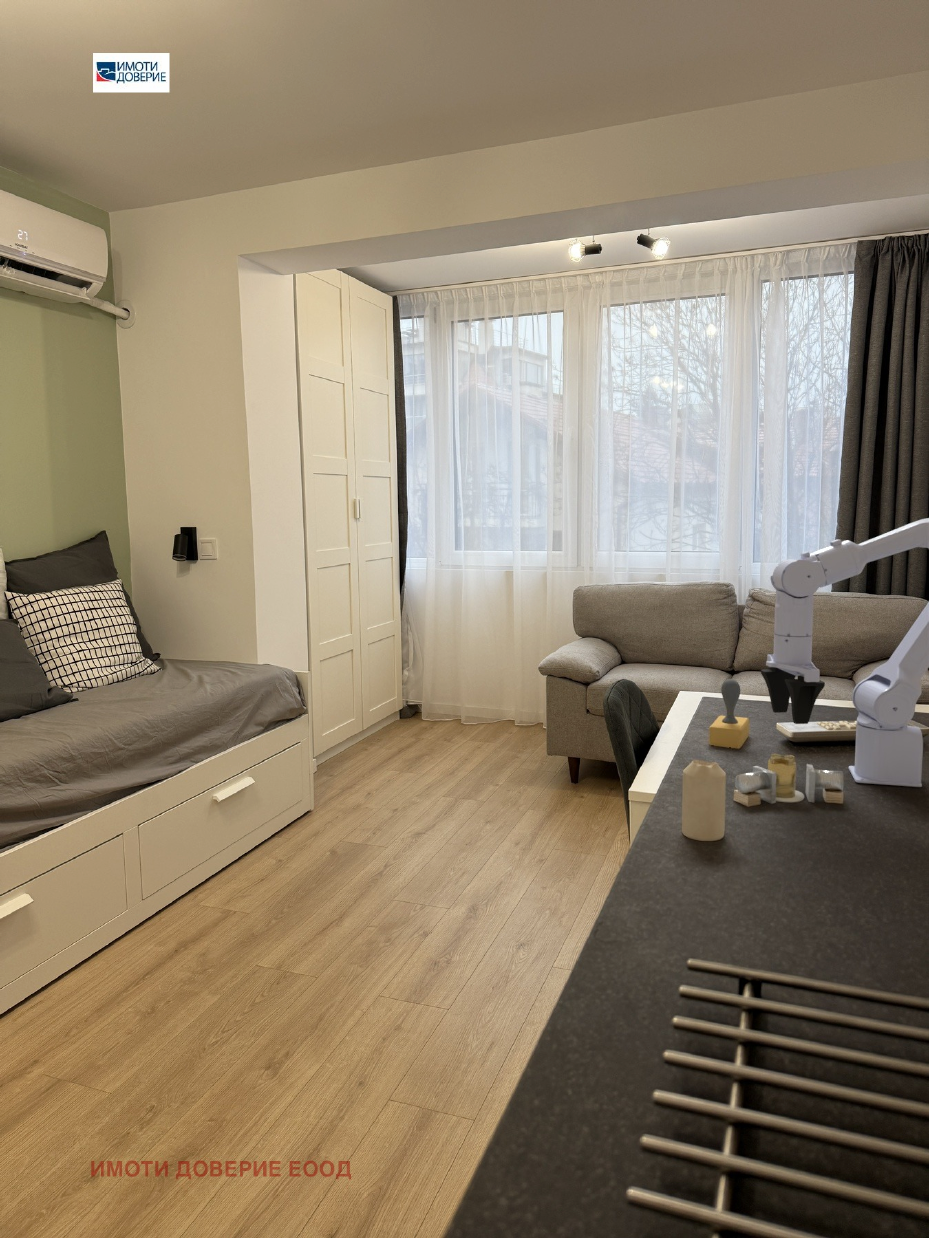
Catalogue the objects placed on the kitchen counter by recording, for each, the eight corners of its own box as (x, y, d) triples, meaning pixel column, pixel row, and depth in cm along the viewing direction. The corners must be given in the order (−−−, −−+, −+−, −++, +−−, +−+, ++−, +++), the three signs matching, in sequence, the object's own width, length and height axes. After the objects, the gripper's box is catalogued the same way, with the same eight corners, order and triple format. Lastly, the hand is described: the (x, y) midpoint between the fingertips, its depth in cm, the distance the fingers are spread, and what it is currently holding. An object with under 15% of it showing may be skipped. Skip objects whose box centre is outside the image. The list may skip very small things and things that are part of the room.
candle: (726, 829, 113) (728, 758, 112) (721, 844, 108) (723, 769, 107) (685, 823, 115) (687, 754, 114) (678, 837, 110) (679, 764, 109)
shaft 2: (808, 801, 124) (809, 771, 123) (805, 793, 127) (806, 764, 127) (843, 804, 122) (844, 774, 122) (839, 795, 126) (840, 766, 125)
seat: (802, 791, 128) (802, 789, 128) (806, 803, 123) (806, 801, 123) (761, 787, 130) (761, 786, 130) (763, 800, 124) (763, 798, 124)
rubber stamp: (740, 749, 152) (742, 685, 151) (708, 745, 155) (710, 682, 153) (749, 736, 161) (750, 675, 160) (718, 733, 164) (720, 673, 162)
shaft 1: (756, 794, 127) (757, 765, 126) (775, 802, 123) (776, 772, 123) (731, 799, 125) (732, 769, 124) (750, 807, 121) (751, 777, 121)
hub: (782, 788, 129) (784, 752, 128) (800, 796, 125) (802, 759, 124) (761, 791, 128) (762, 754, 127) (779, 799, 124) (780, 761, 123)
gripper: (750, 629, 140) (748, 707, 141) (788, 641, 125) (785, 729, 127) (791, 628, 140) (788, 706, 142) (834, 640, 126) (830, 728, 127)
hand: (790, 717), depth 134 cm, fingers open, 7 cm apart
